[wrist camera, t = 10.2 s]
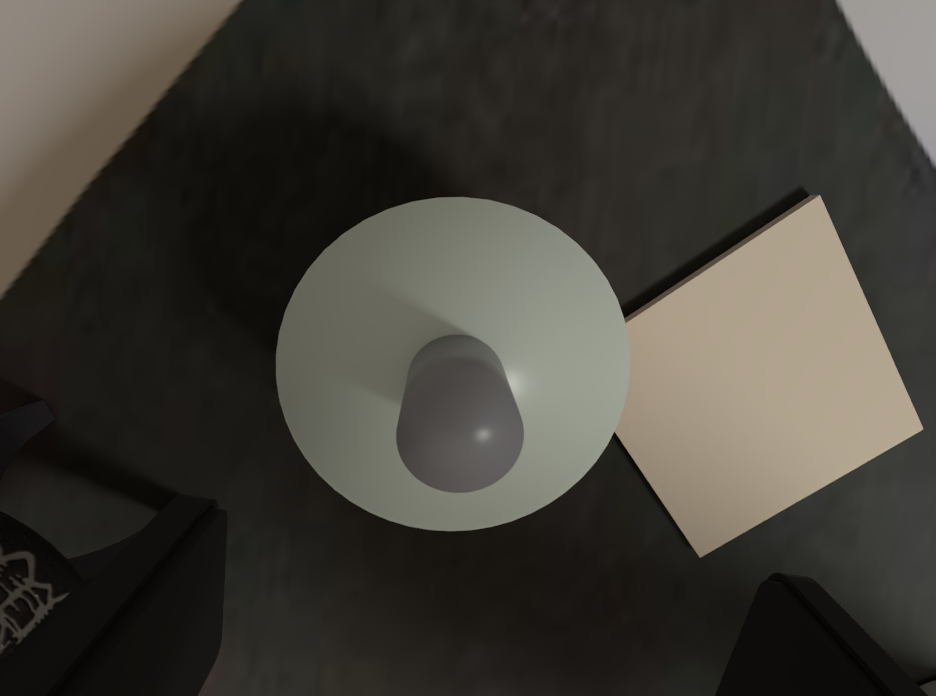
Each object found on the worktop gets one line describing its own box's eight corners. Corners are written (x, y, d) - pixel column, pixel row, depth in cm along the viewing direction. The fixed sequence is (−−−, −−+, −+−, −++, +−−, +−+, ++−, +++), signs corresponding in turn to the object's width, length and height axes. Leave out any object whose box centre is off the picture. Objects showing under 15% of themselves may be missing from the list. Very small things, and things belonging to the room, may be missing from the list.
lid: (680, 407, 19) (762, 478, 14) (420, 569, 21) (413, 683, 16) (502, 116, 16) (528, 77, 11) (207, 337, 18) (115, 390, 13)
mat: (913, 424, 27) (923, 429, 27) (694, 550, 29) (699, 557, 28) (810, 195, 23) (820, 195, 23) (564, 358, 25) (567, 361, 24)
